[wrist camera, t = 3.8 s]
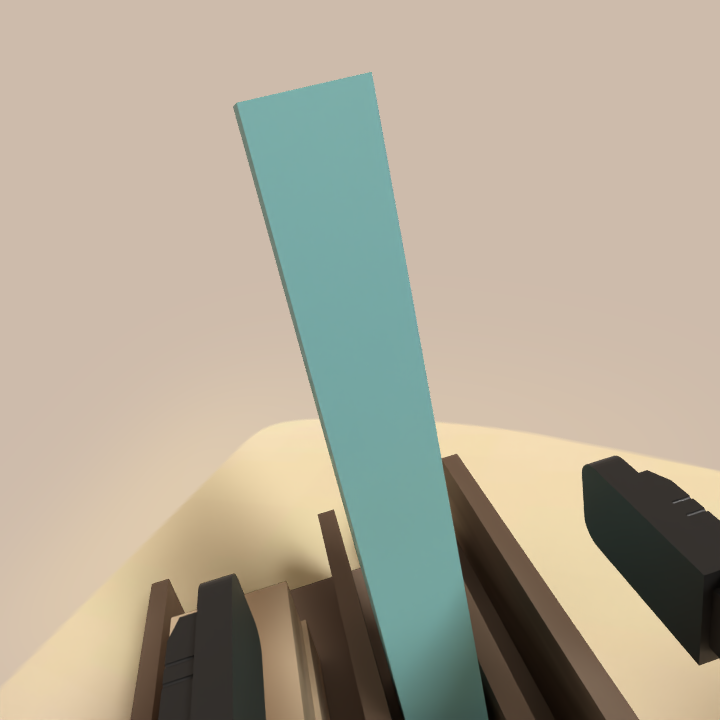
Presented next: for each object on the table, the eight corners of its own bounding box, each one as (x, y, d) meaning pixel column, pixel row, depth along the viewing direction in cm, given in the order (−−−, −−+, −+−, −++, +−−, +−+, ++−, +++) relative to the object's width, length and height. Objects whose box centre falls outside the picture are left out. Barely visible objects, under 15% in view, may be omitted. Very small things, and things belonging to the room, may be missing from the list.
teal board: (429, 808, 20) (236, 102, 10) (391, 678, 24) (233, 107, 15) (499, 783, 20) (371, 72, 11) (448, 659, 24) (327, 85, 15)
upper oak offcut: (178, 881, 17) (148, 834, 16) (192, 661, 24) (171, 617, 23) (332, 825, 17) (311, 775, 16) (301, 624, 24) (286, 581, 23)
